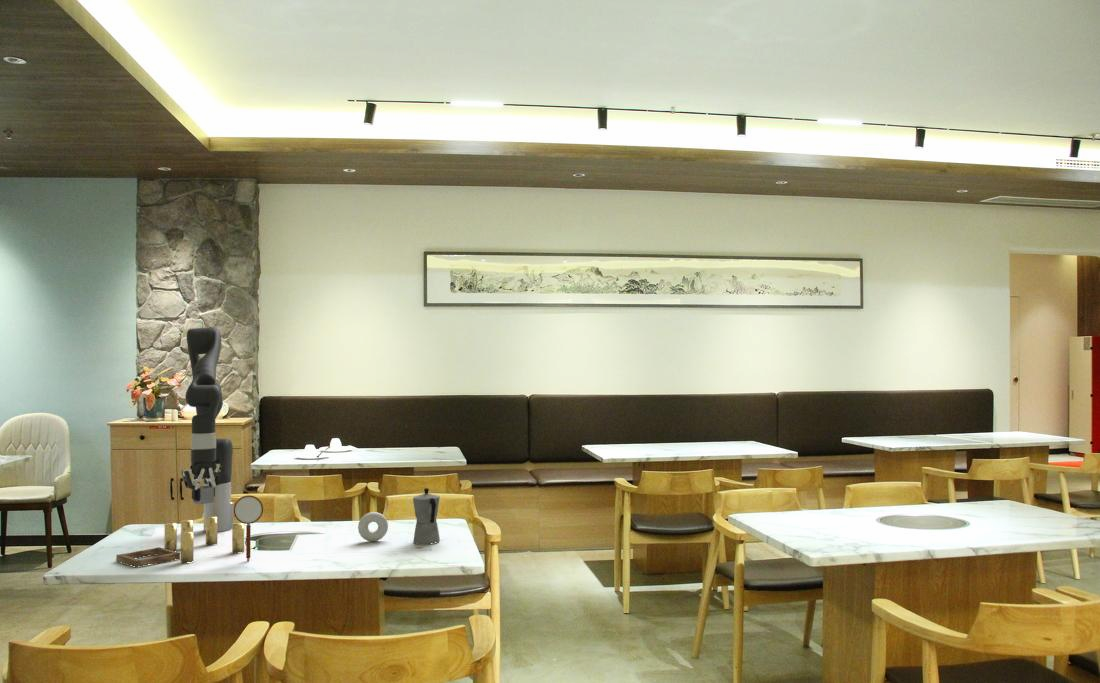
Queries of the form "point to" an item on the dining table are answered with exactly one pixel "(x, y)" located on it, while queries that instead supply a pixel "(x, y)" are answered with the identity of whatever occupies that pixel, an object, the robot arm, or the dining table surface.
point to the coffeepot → (426, 518)
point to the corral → (130, 557)
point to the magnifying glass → (248, 515)
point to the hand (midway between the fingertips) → (203, 499)
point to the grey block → (205, 495)
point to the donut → (367, 520)
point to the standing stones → (211, 537)
